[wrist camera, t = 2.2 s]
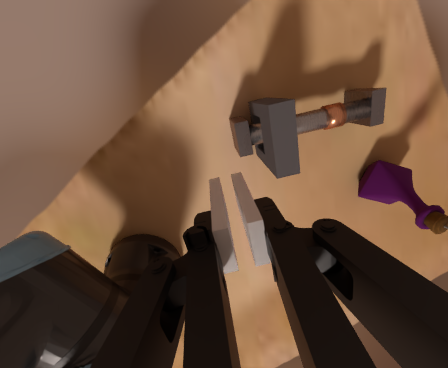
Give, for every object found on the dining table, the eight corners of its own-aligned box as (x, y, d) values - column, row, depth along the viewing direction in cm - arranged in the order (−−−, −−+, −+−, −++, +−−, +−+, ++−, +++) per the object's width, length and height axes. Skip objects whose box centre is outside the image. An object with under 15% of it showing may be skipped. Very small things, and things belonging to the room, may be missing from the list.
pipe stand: (234, 147, 38) (240, 157, 32) (229, 118, 36) (234, 123, 30) (354, 118, 38) (384, 123, 31) (356, 88, 36) (387, 87, 29)
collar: (256, 154, 38) (277, 178, 27) (248, 101, 34) (268, 105, 23) (273, 150, 38) (300, 173, 27) (266, 97, 34) (294, 99, 23)
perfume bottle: (377, 197, 45) (479, 257, 28) (347, 189, 43) (435, 248, 27) (397, 164, 42) (522, 209, 25) (366, 155, 41) (476, 196, 24)
